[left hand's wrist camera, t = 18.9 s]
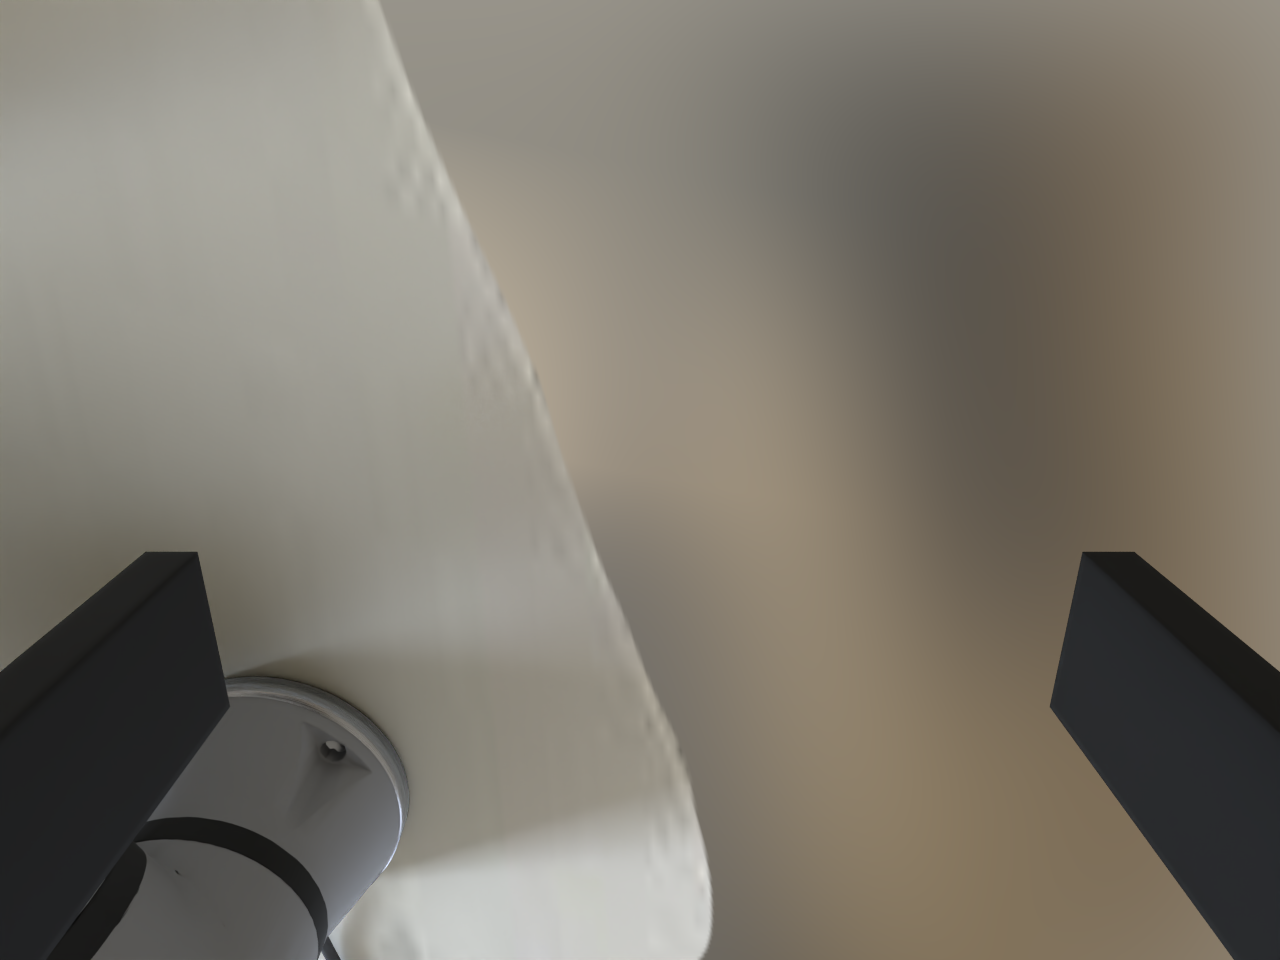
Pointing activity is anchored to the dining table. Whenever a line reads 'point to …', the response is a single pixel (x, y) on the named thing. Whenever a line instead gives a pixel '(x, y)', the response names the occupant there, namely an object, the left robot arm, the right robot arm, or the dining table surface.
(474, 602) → the dining table surface
